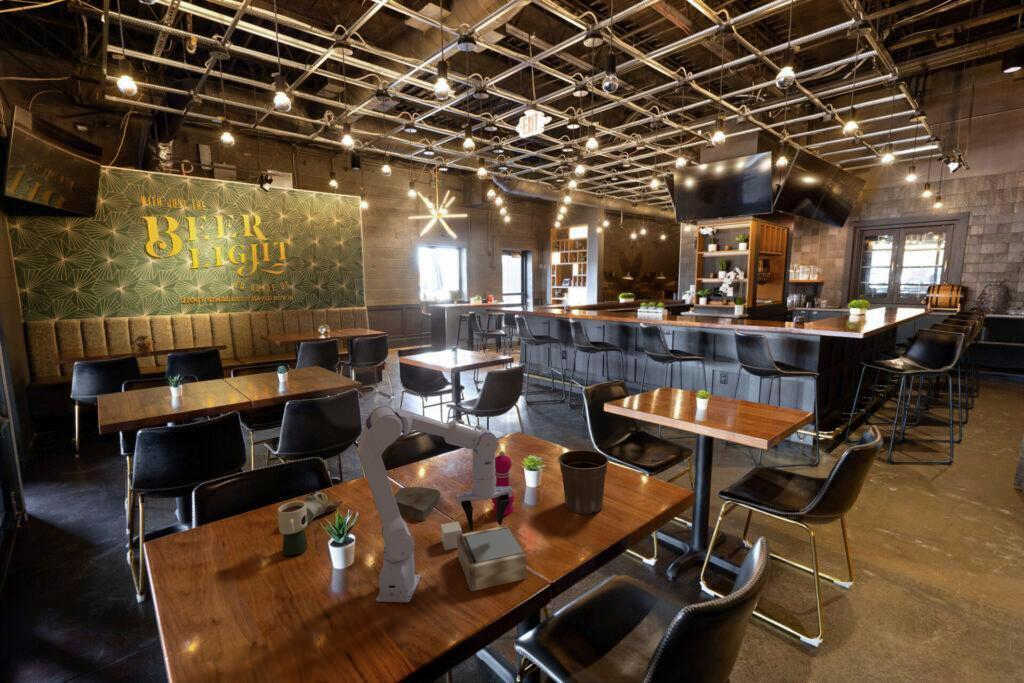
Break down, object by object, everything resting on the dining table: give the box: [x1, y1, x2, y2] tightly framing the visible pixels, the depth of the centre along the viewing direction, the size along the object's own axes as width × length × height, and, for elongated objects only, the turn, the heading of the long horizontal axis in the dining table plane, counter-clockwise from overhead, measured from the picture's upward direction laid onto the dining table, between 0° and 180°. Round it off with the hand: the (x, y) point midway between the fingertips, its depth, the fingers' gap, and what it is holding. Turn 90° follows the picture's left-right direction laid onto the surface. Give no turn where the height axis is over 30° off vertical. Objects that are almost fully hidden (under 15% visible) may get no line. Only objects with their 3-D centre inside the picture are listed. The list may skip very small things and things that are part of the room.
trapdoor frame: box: [457, 525, 527, 592], centre depth 115 cm, size 14×15×7 cm
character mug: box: [277, 500, 309, 556], centre depth 124 cm, size 11×7×13 cm, turn 22°
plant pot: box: [557, 449, 610, 515], centre depth 146 cm, size 16×16×16 cm
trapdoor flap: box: [466, 527, 525, 564], centre depth 115 cm, size 12×12×1 cm
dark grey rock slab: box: [394, 486, 441, 522], centre depth 148 cm, size 17×15×4 cm
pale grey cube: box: [440, 520, 463, 551], centre depth 126 cm, size 5×5×5 cm
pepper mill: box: [491, 450, 515, 516], centre depth 143 cm, size 7×7×20 cm
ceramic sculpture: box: [303, 490, 343, 525], centre depth 144 cm, size 11×9×15 cm
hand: (485, 525), depth 116 cm, fingers open, 7 cm apart
